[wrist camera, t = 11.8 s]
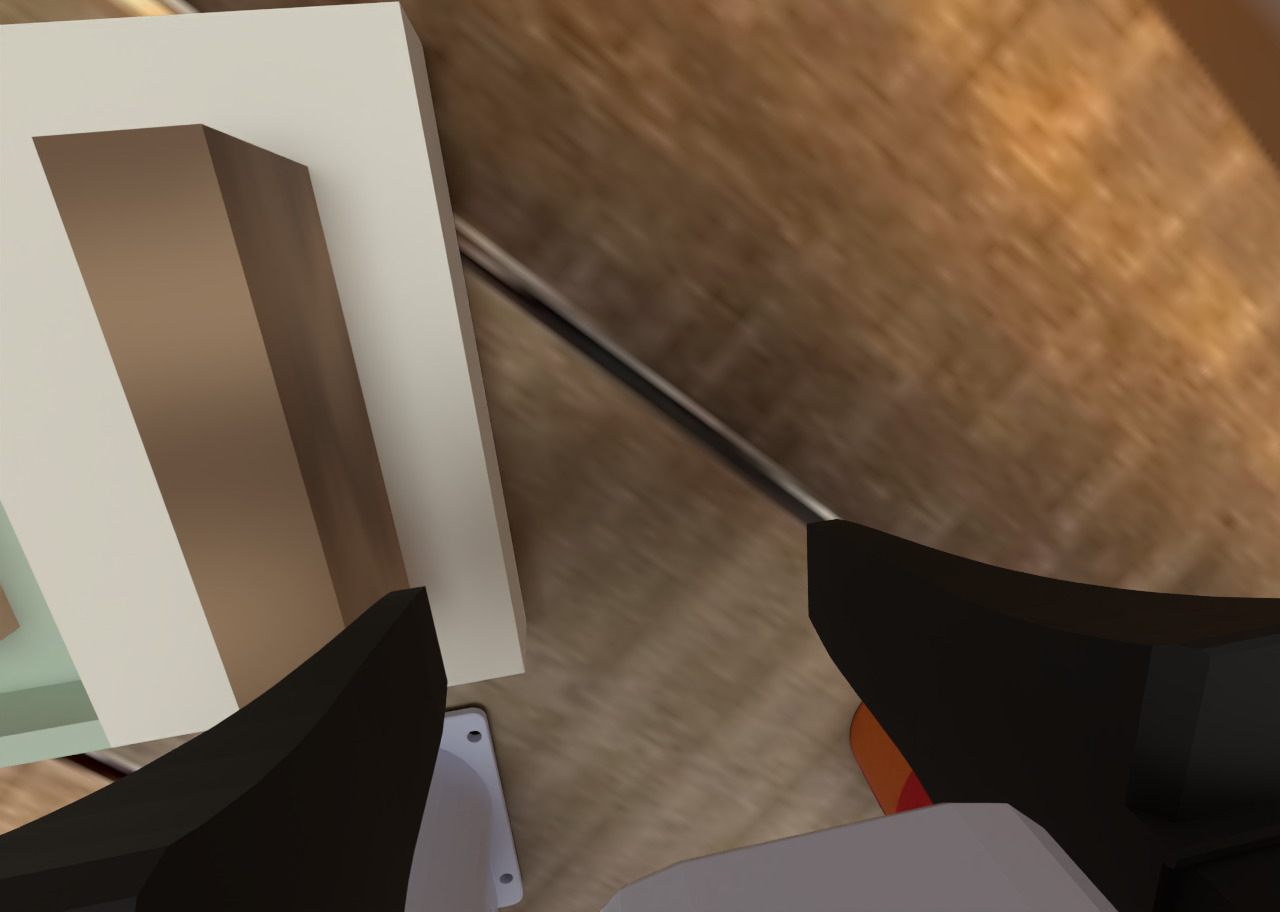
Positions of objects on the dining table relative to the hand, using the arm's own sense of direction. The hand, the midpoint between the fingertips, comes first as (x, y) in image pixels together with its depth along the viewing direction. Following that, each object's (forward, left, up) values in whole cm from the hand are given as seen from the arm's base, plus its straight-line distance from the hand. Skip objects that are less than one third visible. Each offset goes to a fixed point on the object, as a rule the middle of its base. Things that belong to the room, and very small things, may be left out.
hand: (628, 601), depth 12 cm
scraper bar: (+3, +7, -7) cm, 10 cm away
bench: (+3, +9, -10) cm, 14 cm away
